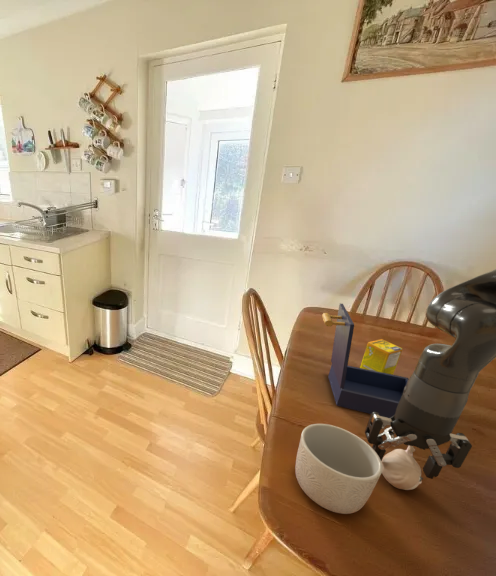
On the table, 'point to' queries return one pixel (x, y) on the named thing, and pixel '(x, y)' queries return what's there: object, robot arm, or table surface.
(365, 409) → the hinged blue tray
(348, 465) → the planter
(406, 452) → the garlic bulb
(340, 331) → the cover
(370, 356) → the supplement box
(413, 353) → the table surface
